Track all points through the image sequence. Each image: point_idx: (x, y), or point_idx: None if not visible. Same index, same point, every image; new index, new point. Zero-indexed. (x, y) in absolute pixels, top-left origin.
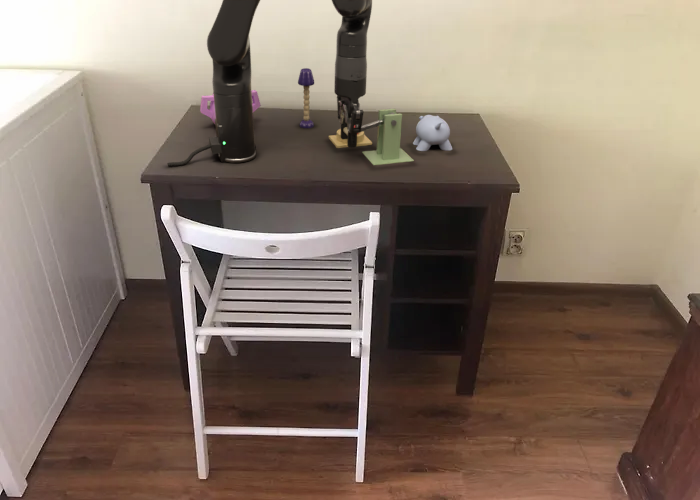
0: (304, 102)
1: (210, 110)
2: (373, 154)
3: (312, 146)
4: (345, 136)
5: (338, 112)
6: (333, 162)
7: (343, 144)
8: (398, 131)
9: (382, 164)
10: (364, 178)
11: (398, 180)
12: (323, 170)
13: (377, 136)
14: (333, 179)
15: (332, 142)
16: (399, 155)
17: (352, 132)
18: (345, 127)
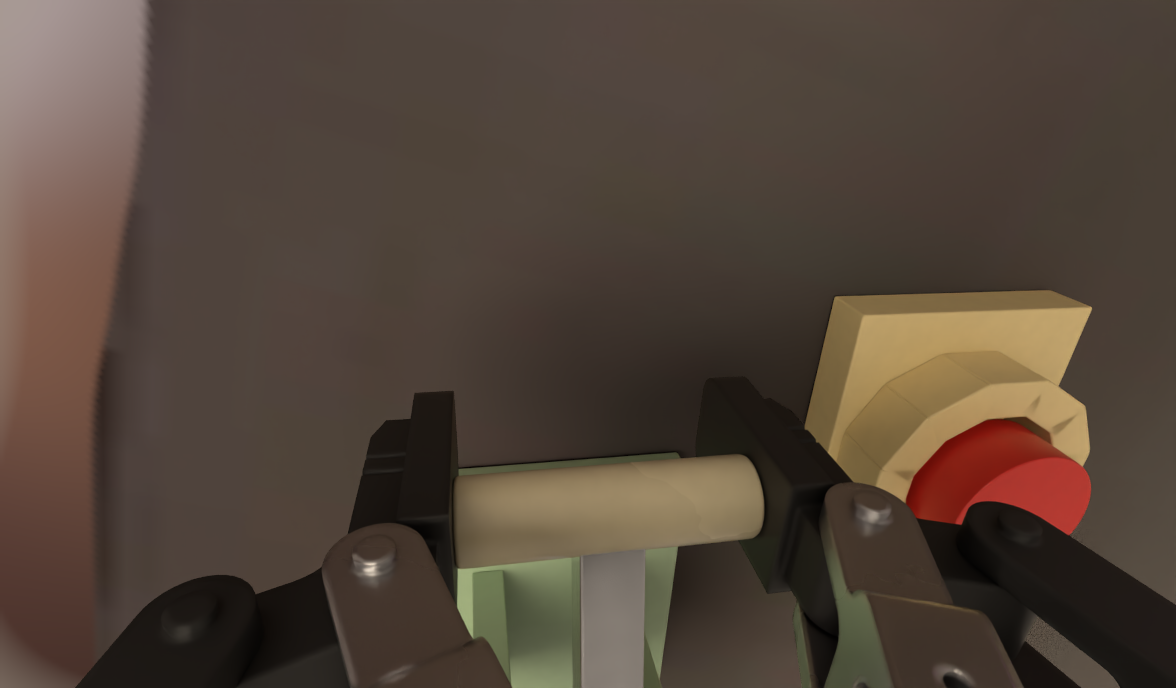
0: None
1: None
2: None
3: (1038, 118)
4: (710, 433)
5: (1095, 597)
6: (628, 200)
7: (865, 375)
8: None
9: None
10: (205, 366)
11: (150, 584)
12: (460, 33)
13: (652, 685)
14: (194, 64)
15: (974, 303)
16: (532, 673)
17: (155, 619)
18: (755, 512)
